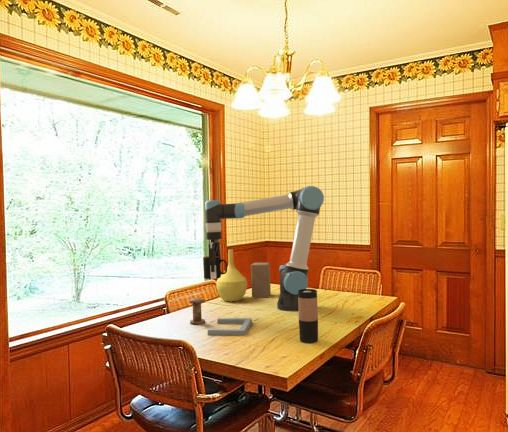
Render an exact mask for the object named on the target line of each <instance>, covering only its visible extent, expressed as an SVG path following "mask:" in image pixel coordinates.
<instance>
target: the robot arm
mask: <svg viewBox="0 0 508 432" xmlns="http://www.w3.org/2000/svg"><path fill="white" fill-rule="evenodd" d="M324 197H325V196H324V193H323V191H322V189H320V188H319V187H317V186H315V185H307V186H305V187H302V188H300V189H298V190H294V191H289V192H288V194H283V195H278V196H277V195H276V196H271V197H265V198H259V199H253V200H248V201H242V202H236V203H221V200H219V199H216V200H215V199H212V200H210V199H209V200H206V201H205V203H204V204H205V205H204V209H205V210H204V212H205V214H204V215H205V224H204V227H205V230H206V233H205V236H206V240H209V241H210V243H209V244H208V256H209V264H208V265H210V274H211V279H210V280H214V279H215V280H216V265H215V260H216V256H220V260H222V257H221V247H220V246H221V242H220V241H219V240H221V239H222V238H223V237H222V220H224V219H225V220H228V219H229V220H230V219H232V220H233V219H244V218H245V217H247V216H253V215H259V214H265V213H266V214H267V213H272V212H277V211H284V210H289V209H290V210H292V211H296V213H297V220H296V226H295V229H294V230H295V231H294V236H293V241H292V247H291V252H290V257H289V261H288V262H287V263H285V264H281V265H280V266H279V270H278V271H279V297H278V300H277V304H276V307H277V310H282V311H291V312H294V311H298V290H301V289H308V285H309V279H308V275H309V269H310V268H309V266H308V265H307V263H308V258H309V253H310V247H311V243H312V237H313V233H314V232H313V231H314V227H315V222H316V221H315V220H316V218H317V217H319V215H320V212H321V207H322V205H324V201H325V198H324Z"/></svg>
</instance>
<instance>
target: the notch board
mask: <svg viewBox="0 0 508 432" xmlns="http://www.w3.org/2000/svg"><path fill="white" fill-rule="evenodd" d="M216 321H217V324H227V325H228V324H229V325H230V324H238V325H240V324H242V325H241V326H240V328H208V329H207V336H245V335H246V333H247V332H248V331H249V328H250V327H251V324H252V323H253V321H252V318H251V317H250V318H249V317H241V318H240V317H236V318H235V317H218V318H217V319H216Z"/></svg>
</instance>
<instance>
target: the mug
mask: <svg viewBox="0 0 508 432" xmlns="http://www.w3.org/2000/svg"><path fill="white" fill-rule="evenodd" d="M202 262H203V265H202V266H203V278H204V279H206V280H212V279H211V274H210V265H208V264H209V255H208V256H204V257H202ZM222 262H224V264H225V270H224V271H223V272H222V270H221V263H222ZM215 265H216V279H217V280H218V279H219V278H220V277H221V275H222V274H225V273H226V272H227V267H228V262H227V261H226V260H225V259H224V258H223V259H222V258H221V260H220V256H216V260H215ZM216 279H215V280H216Z"/></svg>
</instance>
